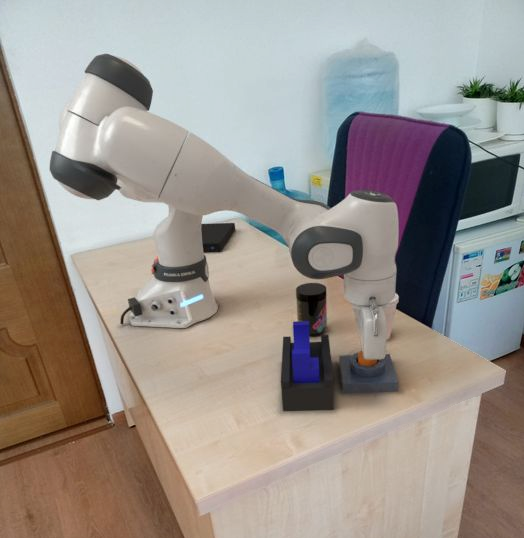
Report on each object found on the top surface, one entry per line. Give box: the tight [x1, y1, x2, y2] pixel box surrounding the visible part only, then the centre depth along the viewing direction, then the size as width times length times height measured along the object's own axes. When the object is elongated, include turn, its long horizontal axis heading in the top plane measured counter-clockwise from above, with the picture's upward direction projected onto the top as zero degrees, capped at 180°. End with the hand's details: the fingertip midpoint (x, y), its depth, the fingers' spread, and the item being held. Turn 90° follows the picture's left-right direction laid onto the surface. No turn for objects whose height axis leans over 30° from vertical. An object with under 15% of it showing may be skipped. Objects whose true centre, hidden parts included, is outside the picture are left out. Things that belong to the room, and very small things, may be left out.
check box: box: [338, 352, 399, 394], centre depth 96 cm, size 10×10×4 cm
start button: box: [357, 350, 377, 366], centre depth 94 cm, size 4×4×2 cm
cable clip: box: [292, 320, 319, 383], centre depth 91 cm, size 12×4×6 cm, turn 176°
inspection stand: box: [280, 334, 335, 412], centre depth 94 cm, size 9×16×6 cm, turn 177°
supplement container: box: [295, 282, 328, 338], centre depth 112 cm, size 7×7×10 cm
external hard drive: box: [201, 222, 236, 253], centre depth 177 cm, size 14×23×3 cm, turn 171°
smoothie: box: [383, 292, 400, 341], centre depth 106 cm, size 6×6×14 cm
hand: (367, 354), depth 94 cm, fingers closed, pressing on start button
